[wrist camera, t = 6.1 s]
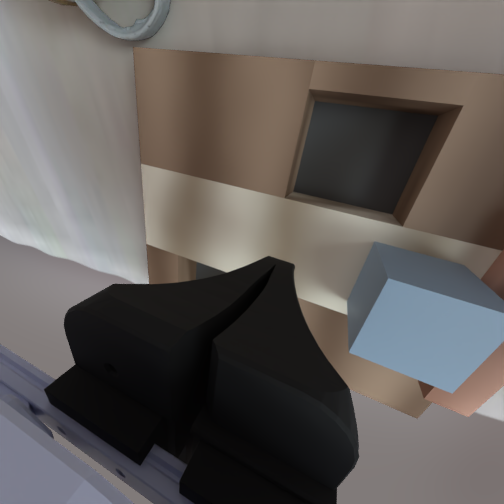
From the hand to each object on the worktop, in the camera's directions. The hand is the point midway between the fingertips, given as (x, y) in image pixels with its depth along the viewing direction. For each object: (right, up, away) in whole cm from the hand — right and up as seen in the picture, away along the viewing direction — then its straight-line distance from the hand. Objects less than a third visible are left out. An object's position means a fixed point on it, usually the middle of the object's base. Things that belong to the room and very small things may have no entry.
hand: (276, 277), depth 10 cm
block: (+7, -1, +1) cm, 7 cm away
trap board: (+2, +2, +5) cm, 6 cm away
